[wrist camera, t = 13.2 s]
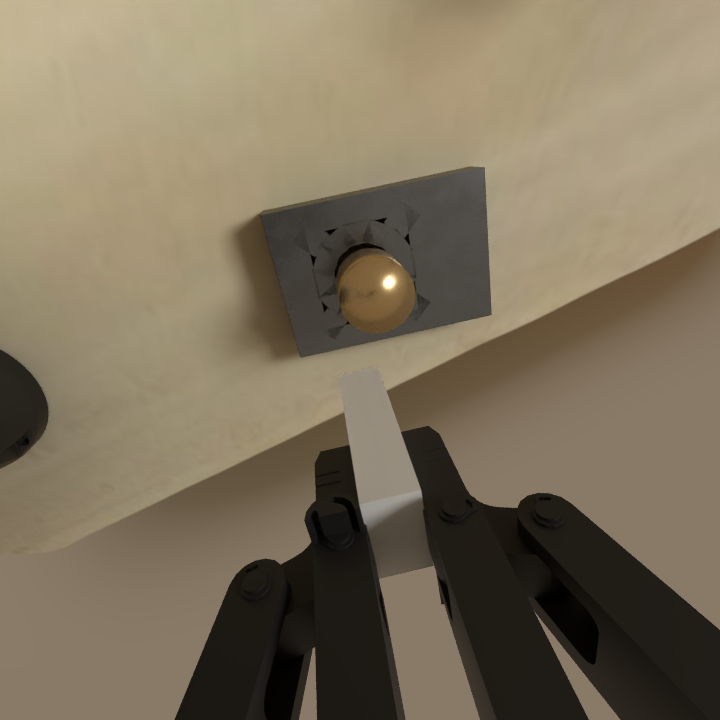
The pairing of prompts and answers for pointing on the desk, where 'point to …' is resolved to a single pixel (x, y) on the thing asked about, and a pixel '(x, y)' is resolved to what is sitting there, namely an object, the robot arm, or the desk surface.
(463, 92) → the desk surface
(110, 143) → the desk surface
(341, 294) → the knob
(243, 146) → the desk surface
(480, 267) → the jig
